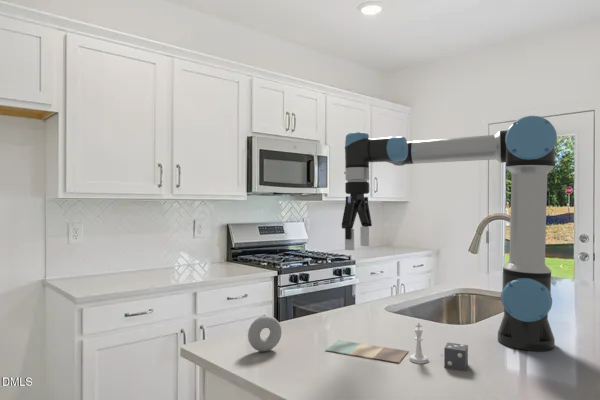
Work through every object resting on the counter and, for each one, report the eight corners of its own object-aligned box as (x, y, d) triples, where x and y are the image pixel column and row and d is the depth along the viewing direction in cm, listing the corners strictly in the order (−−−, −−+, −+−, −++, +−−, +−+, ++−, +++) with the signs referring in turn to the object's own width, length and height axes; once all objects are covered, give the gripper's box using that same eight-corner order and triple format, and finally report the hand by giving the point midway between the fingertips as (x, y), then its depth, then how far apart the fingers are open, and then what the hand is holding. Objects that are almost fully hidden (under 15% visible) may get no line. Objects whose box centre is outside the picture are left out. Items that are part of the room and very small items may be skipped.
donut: (250, 356, 121) (250, 319, 121) (246, 352, 124) (246, 316, 124) (283, 350, 126) (283, 315, 126) (278, 346, 129) (278, 312, 129)
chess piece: (429, 364, 115) (429, 325, 115) (409, 362, 116) (409, 324, 116) (427, 357, 120) (427, 320, 120) (408, 356, 121) (408, 319, 121)
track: (408, 352, 124) (408, 350, 124) (398, 363, 115) (398, 362, 115) (338, 341, 134) (338, 340, 134) (325, 351, 125) (325, 349, 125)
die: (467, 364, 115) (467, 344, 115) (465, 371, 110) (465, 350, 110) (447, 361, 117) (447, 342, 117) (444, 367, 112) (444, 347, 112)
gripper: (359, 183, 155) (360, 244, 154) (330, 180, 133) (330, 251, 132) (380, 182, 151) (380, 245, 151) (353, 179, 129) (354, 252, 129)
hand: (357, 248), depth 142 cm, fingers open, 13 cm apart
